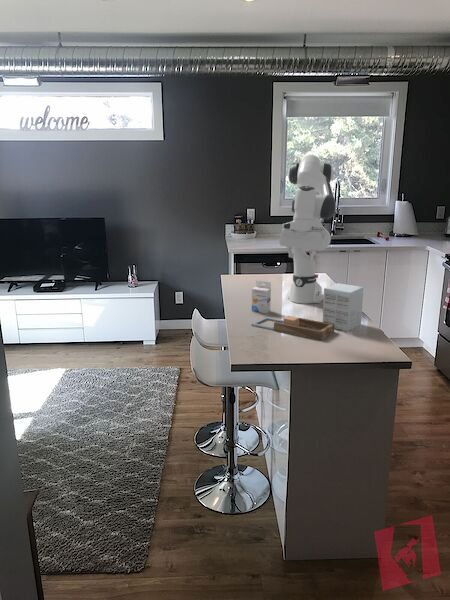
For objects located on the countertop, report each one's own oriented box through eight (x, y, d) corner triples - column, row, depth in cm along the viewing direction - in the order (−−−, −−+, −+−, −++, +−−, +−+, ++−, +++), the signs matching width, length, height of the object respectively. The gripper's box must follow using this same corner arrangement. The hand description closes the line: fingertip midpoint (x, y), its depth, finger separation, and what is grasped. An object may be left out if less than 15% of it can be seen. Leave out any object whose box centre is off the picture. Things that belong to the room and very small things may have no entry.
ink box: (251, 311, 241) (251, 282, 237) (255, 308, 245) (255, 280, 241) (266, 313, 237) (267, 284, 233) (270, 310, 241) (271, 282, 237)
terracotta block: (288, 326, 217) (289, 315, 216) (298, 328, 214) (299, 317, 213) (283, 329, 213) (283, 318, 212) (293, 331, 210) (293, 320, 209)
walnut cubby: (288, 322, 222) (288, 315, 221) (334, 332, 209) (334, 324, 208) (273, 330, 212) (274, 322, 211) (320, 340, 199) (321, 332, 198)
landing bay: (266, 318, 228) (266, 317, 228) (288, 322, 222) (288, 321, 222) (251, 325, 218) (251, 323, 218) (273, 330, 212) (273, 328, 212)
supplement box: (335, 318, 227) (337, 282, 223) (361, 324, 219) (364, 286, 215) (321, 325, 218) (323, 288, 213) (348, 331, 209) (351, 292, 205)
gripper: (329, 227, 198) (326, 261, 201) (286, 223, 210) (284, 255, 213) (322, 228, 193) (319, 262, 196) (278, 224, 205) (276, 256, 208)
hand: (300, 258), depth 205 cm, fingers open, 8 cm apart
